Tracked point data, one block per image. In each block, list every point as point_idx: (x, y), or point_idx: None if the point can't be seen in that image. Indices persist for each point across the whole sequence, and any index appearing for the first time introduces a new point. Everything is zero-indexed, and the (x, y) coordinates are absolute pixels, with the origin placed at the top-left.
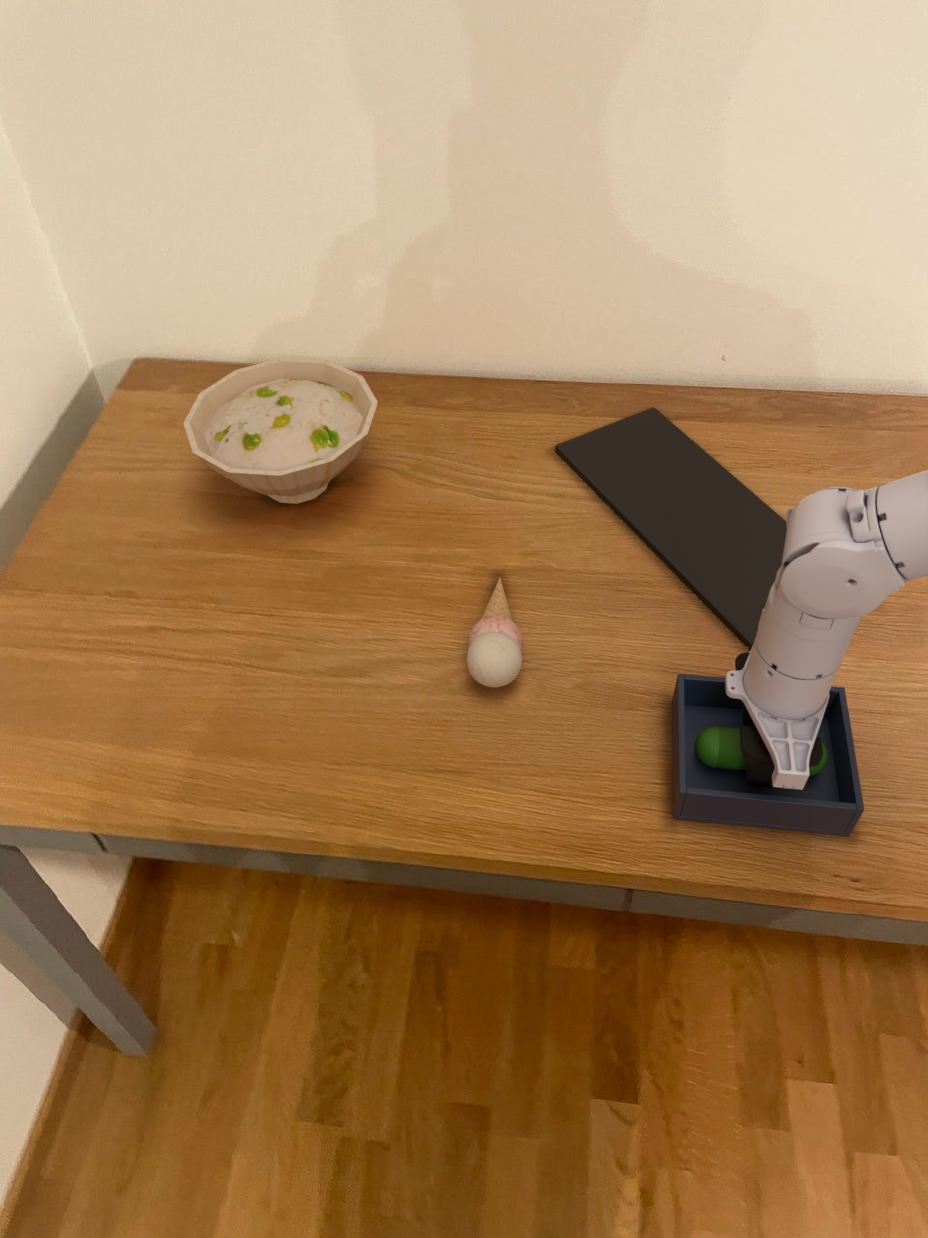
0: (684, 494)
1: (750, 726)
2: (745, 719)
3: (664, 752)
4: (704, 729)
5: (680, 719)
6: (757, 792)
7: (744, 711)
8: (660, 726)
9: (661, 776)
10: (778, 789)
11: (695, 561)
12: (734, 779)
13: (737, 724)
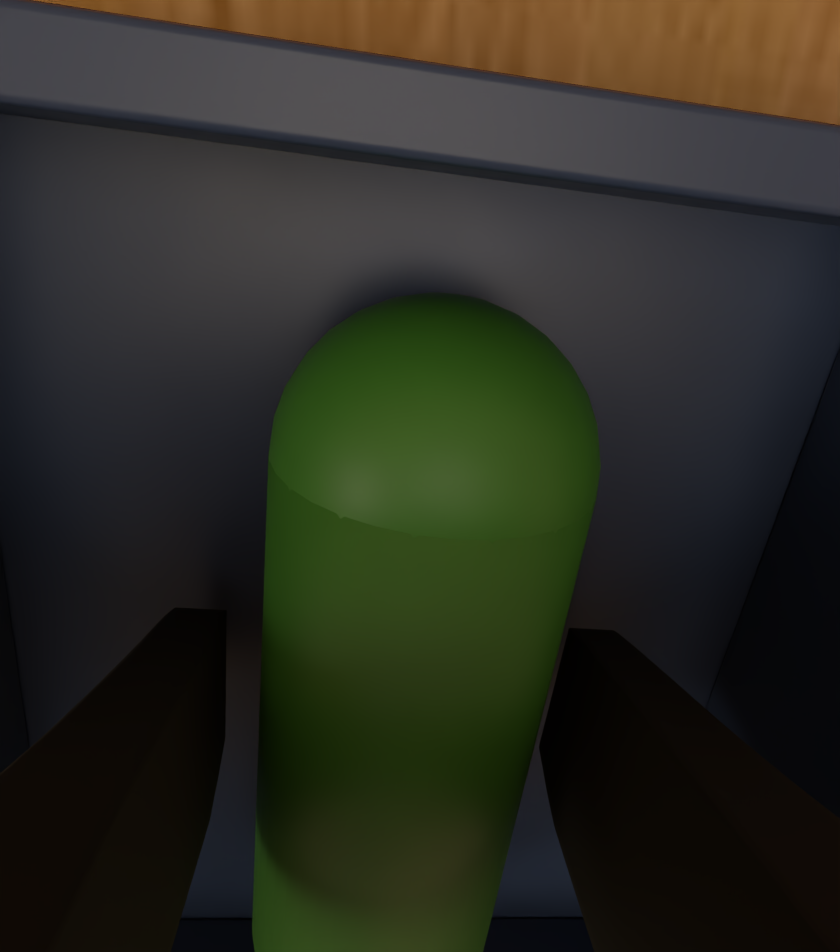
0: None
1: (585, 696)
2: (625, 711)
3: (502, 69)
4: (581, 400)
5: (698, 129)
6: None
7: (677, 771)
8: (729, 70)
9: (288, 8)
10: None
11: None
12: None
13: (649, 575)
